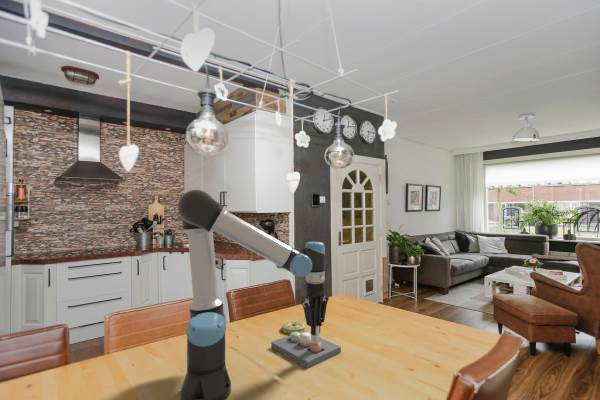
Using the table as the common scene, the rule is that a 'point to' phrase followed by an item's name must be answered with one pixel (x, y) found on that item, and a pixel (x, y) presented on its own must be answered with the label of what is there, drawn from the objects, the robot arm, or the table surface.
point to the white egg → (305, 339)
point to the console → (305, 351)
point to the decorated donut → (292, 327)
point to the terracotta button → (315, 347)
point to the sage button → (295, 337)
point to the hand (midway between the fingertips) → (315, 342)
